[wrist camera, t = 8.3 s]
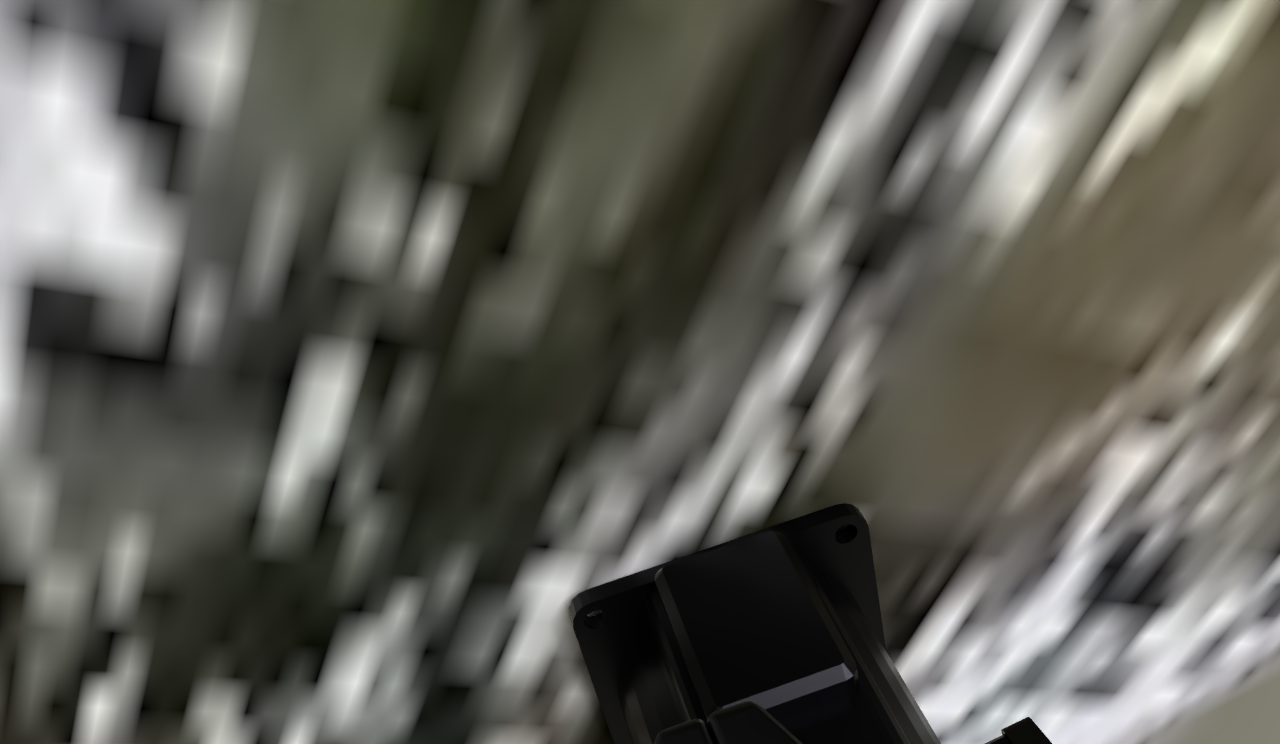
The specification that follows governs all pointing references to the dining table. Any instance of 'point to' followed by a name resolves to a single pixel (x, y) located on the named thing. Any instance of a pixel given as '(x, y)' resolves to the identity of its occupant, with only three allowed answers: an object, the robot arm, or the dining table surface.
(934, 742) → the robot arm
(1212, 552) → the dining table surface
